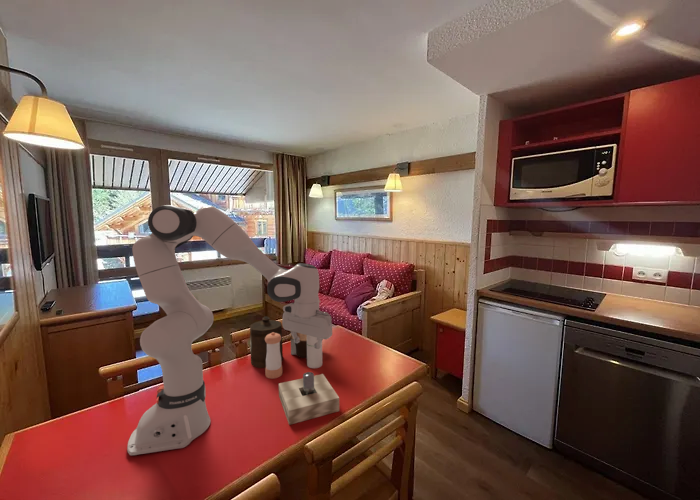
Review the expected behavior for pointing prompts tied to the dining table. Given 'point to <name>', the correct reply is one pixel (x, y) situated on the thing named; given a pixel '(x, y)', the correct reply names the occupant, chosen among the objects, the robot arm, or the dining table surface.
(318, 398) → the socket block
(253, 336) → the wooden container
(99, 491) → the dining table surface
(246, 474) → the dining table surface
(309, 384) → the pin
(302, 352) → the pitcher
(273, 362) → the pepper shaker
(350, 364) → the dining table surface
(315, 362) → the cylindrical container
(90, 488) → the dining table surface
